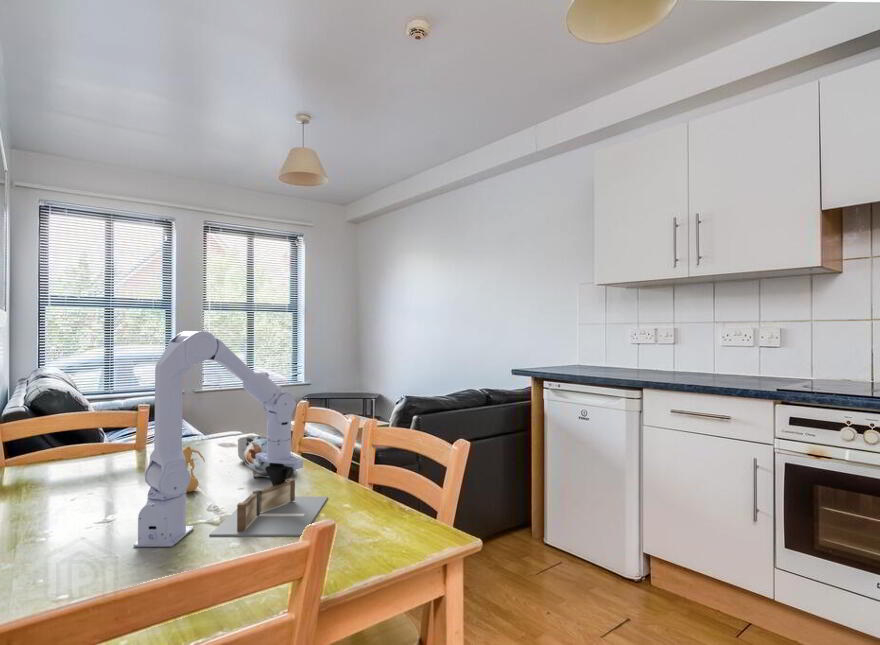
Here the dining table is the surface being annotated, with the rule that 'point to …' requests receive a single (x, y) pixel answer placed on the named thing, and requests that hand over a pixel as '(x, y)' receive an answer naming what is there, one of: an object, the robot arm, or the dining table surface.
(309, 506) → the card
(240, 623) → the dining table surface
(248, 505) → the fixed fence section
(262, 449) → the lucky cat figurine
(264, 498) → the post
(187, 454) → the figurine
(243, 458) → the teacup
